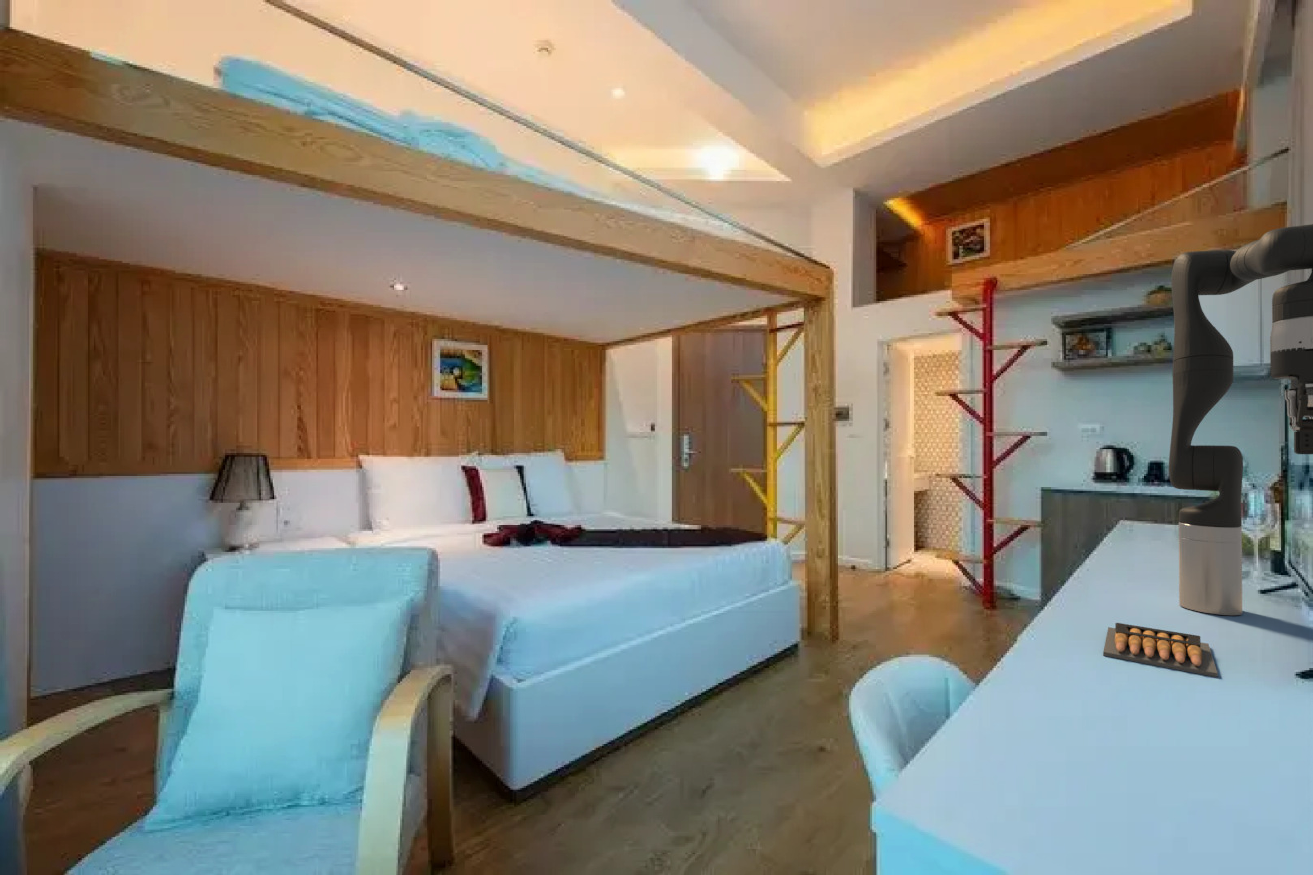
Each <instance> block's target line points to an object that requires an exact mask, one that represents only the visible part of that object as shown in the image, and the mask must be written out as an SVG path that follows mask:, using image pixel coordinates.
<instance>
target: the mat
mask: <svg viewBox="0 0 1313 875" xmlns="http://www.w3.org/2000/svg"><path fill="white" fill-rule="evenodd" d="M1115 634H1116V630H1115V627H1110V626H1109V627H1108V628H1107V632H1106V638H1105V642H1104V646H1103V651H1102V652H1103V653H1102V654H1103V655H1102V656H1104V657H1107V658H1108V657H1109V658H1114V659H1120V660H1124V661H1130V662H1136V663H1140V664H1146V665H1150V666H1155V667H1160V668H1165V669H1172V670H1175V671H1176V670H1177V671H1181V672H1182V671H1183V672H1186V673H1187V672H1188V673H1191V674H1192V673H1193V674H1198V675H1203V676H1208V677H1214V678H1218V677H1219V676H1218V674H1219V673H1218V670H1217V667H1216V664H1215V661H1214V657H1213V654H1212V651H1211V647H1210V645H1209V643H1208V642H1207V643H1206V642H1201V641H1200V646H1201V651H1202V660H1201V661H1202V662H1201V665H1200V666H1195V665H1194V664H1193V663H1192V661H1191V659H1190V658H1189V656H1188V655H1186V656H1185V661H1184V662H1183V663H1179V662H1178V661H1177V660H1176V659H1175V656H1174V654H1173V652H1171V653H1170V654H1169V658H1168V659H1167V660H1163V659H1162V658H1161V657H1160V655H1159V652H1158V650H1157V649H1156V650H1155V652H1154V655H1153V656H1152V657H1148V656H1146V654H1145V652H1144V649H1143V647H1141V648H1140V650H1139V653H1138V654H1136V655H1134V654H1132V652H1131V651H1130V647H1129V644H1127V646H1126V647H1125V650H1124V651H1122V652H1119V651H1118V650H1117V649H1116V644H1115ZM1128 642H1129V638H1128ZM1142 644H1143V640H1142ZM1156 647H1157V642H1156ZM1171 649H1172V645H1171ZM1186 652H1187V647H1186Z"/></svg>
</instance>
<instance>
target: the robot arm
mask: <svg viewBox="0 0 1313 875" xmlns="http://www.w3.org/2000/svg"><path fill="white" fill-rule="evenodd" d="M1309 269H1311V273H1310V275H1309V276H1308V278H1307V280H1303V281H1300V282H1295V283H1291V284H1290V283H1289V284H1288V285H1284V286H1280V287H1279V288H1277V289H1276V290H1275V291H1274V292H1273V294H1272V299H1271V300H1272V301H1271V307H1272V308H1271V309H1272V310H1271V313H1272V314H1271V316H1272V324H1271V331H1270V340H1269V341H1270V346H1269V347H1270V350H1269V351H1270V352H1269V354H1270V377H1271V378H1272V379H1276V380H1289V381H1290V387H1289V388H1287V389H1285V390H1284V400H1285V405H1286V409H1287V414H1286V415H1287V417H1288V420H1289V423H1288V425H1289V426H1290V427H1289V428H1290V429H1291V430H1292V432H1293V452H1294V454H1296V455H1313V223H1311V224H1303V225H1294V226H1286V227H1285V226H1283V227H1280V228H1274V229H1272V230H1269V231H1266V232H1265V233H1264V234H1263V235H1262V236H1261V238H1260V239H1256V240H1254V241H1251V242H1249V243H1246V244H1244V245H1243V246H1241V247H1240V248H1239V249H1238V250H1232V249H1231V250H1230V249H1222V250H1221V249H1219V250H1215V249H1213V250H1197V251H1196V250H1195V251H1188V252H1186V251H1185V252H1184V253H1182V254H1180V255H1178V257H1177V258H1176V259H1175V261H1174V263H1173V266H1172V270H1171V280H1170V284H1171V297H1172V307H1173V308H1172V309H1173V321H1174V330H1173V331H1174V332H1173V333H1174V334H1173V335H1174V336H1173V355H1172V406H1173V407H1172V408H1173V409H1172V423H1171V424H1172V426H1171V427H1172V428H1171V437H1170V447H1169V454H1168V455H1169V457H1168V478H1169V482H1170V484H1171V486H1172V487H1173V488H1174V489H1177V490H1186V491H1187V490H1188V491H1206V492H1207V491H1208V492H1219V493H1218V494H1219V495H1218V496H1217V497H1216V498H1214V499H1211V500H1210V501H1209V502H1205V503H1201V504H1197V505H1192V506H1186V507H1183V508H1180V510H1179V512H1178V579H1179V582H1178V584H1179V586H1178V590H1179V591H1178V593H1179V595H1178V598H1179V600H1178V601H1179V602H1178V603H1179V606H1180V607H1182V608H1185V609H1188V610H1190V611H1191V610H1192V611H1196V612H1201V613H1205V614H1211V615H1222V616H1240V615H1242V614H1243V542H1242V540H1243V539H1242V538H1243V537H1242V536H1243V533H1242V532H1243V531H1242V528H1243V526H1242V524H1243V522H1242V488H1243V478H1244V477H1243V476H1244V460H1243V459H1244V458H1243V454H1242V451H1241V450H1240V449H1239V448H1238V447H1237V446H1234V445H1213V444H1212V445H1210V444H1209V445H1201V444H1199V445H1192V441H1193V438H1194V435H1195V433H1196V430H1197V428H1198V427H1199V426H1200V424H1201V423H1202V421H1203V420H1204V418H1205V417H1206V416H1207V414H1208V413H1210V411H1211V410H1212V409H1213V408H1214V407H1215V406H1216V405H1217V404H1218V403H1219V402H1220V400H1222V398H1223V397H1224V396H1225V395H1226V393H1227V392H1228V391H1229V390H1230V388H1231V387H1232V384H1233V382H1234V352H1233V349H1232V346H1231V344H1230V343H1229V342H1228V340H1227V339H1226V338H1225V337H1224V335H1222V333H1221V332H1220V331H1219V330H1218V329H1217V328H1216V327H1215V326H1214V324H1212V323H1211V321H1209V318H1207V316H1206V314H1205V313H1204V311H1203V308H1202V305H1201V301H1200V296H1219V295H1220V296H1223V295H1226V294H1227V295H1228V294H1230V293H1233V292H1235V291H1238V290H1240V289H1241V288H1243V287H1245V286H1247V285H1249V284H1251V283H1252V282H1255V281H1257V280H1261V279H1266V278H1270V277H1271V278H1272V277H1274V276H1275V277H1276V276H1279V275H1282V274H1285V273H1286V272H1288V271H1289V272H1290V271H1300V270H1309Z"/></svg>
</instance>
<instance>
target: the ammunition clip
mask: <svg viewBox="0 0 1313 875" xmlns="http://www.w3.org/2000/svg"><path fill="white" fill-rule="evenodd" d="M1114 628H1115V630H1116V634H1115V644H1116V649H1117V650H1118V651H1119V652H1122V651H1124V650H1125V647H1126V646H1127V644H1129V647H1130V651H1131V652H1132V654H1134V655H1136V654H1138V653H1139V650H1140V648H1141V647H1143V649H1144V652H1145V654H1146V656H1148V657H1152V656H1153V655H1154V652H1155V650H1156V649H1157V650H1158V652H1159V655H1160V657H1161V658H1162V659H1163V660H1167V659H1168V658H1169V654H1170V653H1171V652H1173V654H1174V656H1175V659H1176V660H1177V661H1178V662H1179V663H1183V662H1184V661H1185V656H1186V655H1188V656H1189V658H1190V659H1191V661H1192V663H1193V664H1194V665H1195V666H1200V665H1201V662H1202V661H1201V660H1202V651H1201V646H1200V642H1201V636H1200V635H1198V634H1197V635H1195V634H1190V633H1184V632H1183V633H1182V632H1178V631H1177V632H1176V631H1171V630H1164V629H1159V628H1151V627H1148V626H1147V627H1146V626H1141V625H1140V626H1139V625H1133V624H1126V623H1121V622H1116V623H1115V627H1114ZM1128 638H1129V642H1128ZM1142 640H1143V644H1142ZM1156 642H1157V647H1156ZM1171 645H1172V649H1171ZM1186 647H1187V652H1186Z"/></svg>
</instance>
